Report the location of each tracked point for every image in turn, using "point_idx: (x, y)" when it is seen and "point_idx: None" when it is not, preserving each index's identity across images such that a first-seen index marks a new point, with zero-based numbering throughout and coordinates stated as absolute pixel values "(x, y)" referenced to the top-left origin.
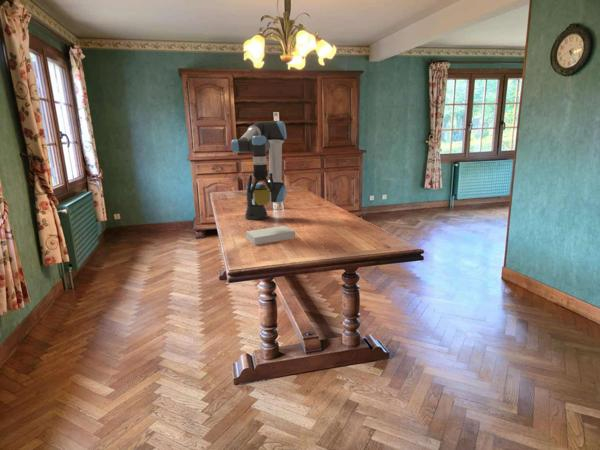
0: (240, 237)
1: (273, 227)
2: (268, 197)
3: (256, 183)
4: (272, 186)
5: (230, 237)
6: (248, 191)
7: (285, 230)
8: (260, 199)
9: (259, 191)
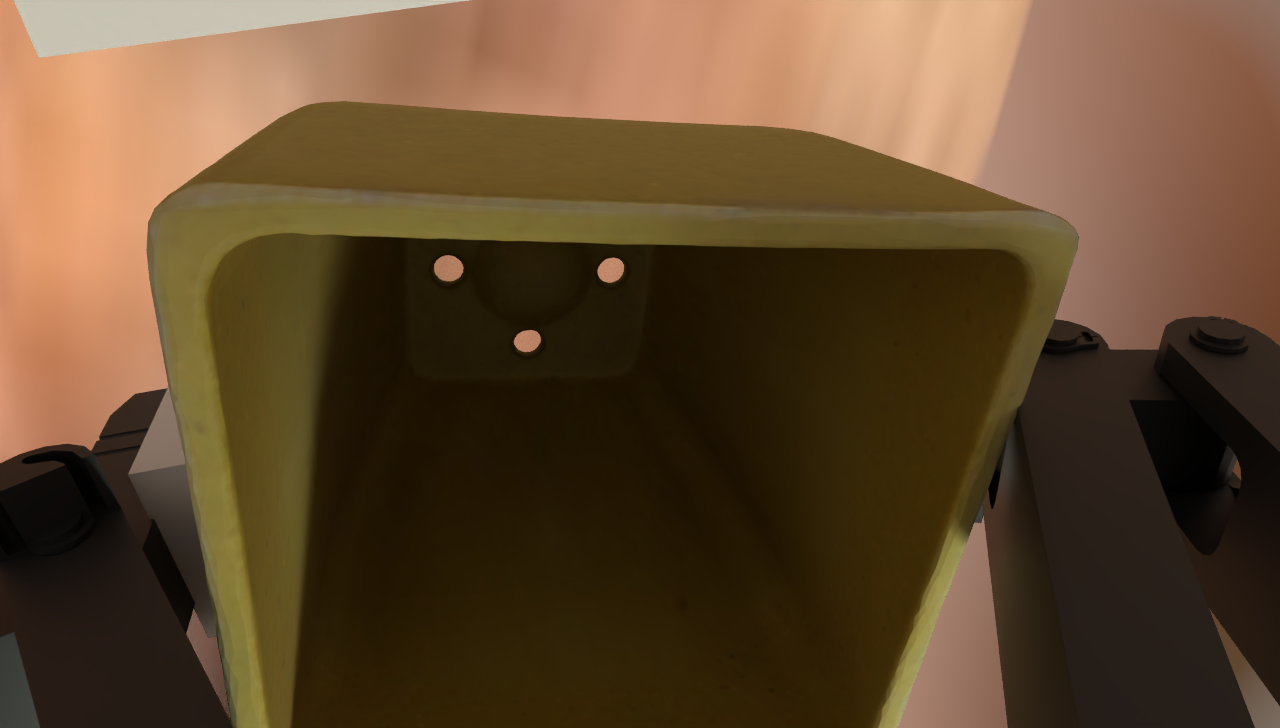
0: (824, 32)
1: (294, 7)
2: (328, 106)
3: (1113, 703)
4: None
5: (933, 89)
6: (1243, 331)
7: None
8: (663, 123)
9: (827, 190)
